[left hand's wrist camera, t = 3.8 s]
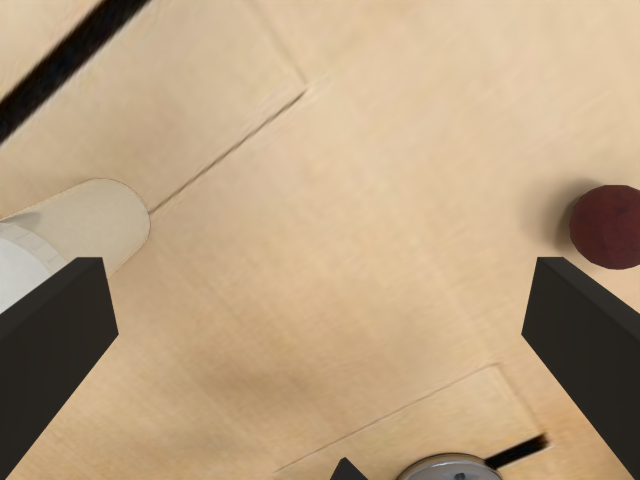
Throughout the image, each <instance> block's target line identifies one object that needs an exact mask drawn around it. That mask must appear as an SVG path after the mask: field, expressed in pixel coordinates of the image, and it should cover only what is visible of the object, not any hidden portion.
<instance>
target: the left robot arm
mask: <svg viewBox="0 0 640 480" xmlns="http://www.w3.org/2000/svg"><path fill="white" fill-rule="evenodd" d="M118 335H119V333H118V329H117V324H116V319H115V314H114V310H113V305H112V300H111V295H110V291H109V286H108V281H107V276H106V272H105V267H104V262H103V257H76V258H75V259H74V260H72V261H71V262H70V263H68V264H67V265H66V266H64V267H63V268H62V269H60V270H59V271H57V272H56V273H55V274H53V275H52V276H51V277H49V278H48V279H47V280H45V281H44V282H43V283H41V284H40V285H39V286H37V287H36V288H35V289H33V290H32V291H30V292H29V293H28V294H26V295H25V296H24V297H22V298H21V299H20V300H18V301H17V302H16V303H14V304H13V305H12V306H10V307H9V308H8V309H6V310H5V311H4V312H2V313H1V314H0V480H5V479H6V478H7V477H8V475H9V474H10V473H11V472H12V470H13V469H14V468H15V466H16V465H17V464H18V463H19V461H20V460H21V459H22V458H23V456H24V455H25V454H26V452H27V451H28V450H29V449H30V447H31V446H32V445H33V443H34V442H35V441H36V440H37V438H38V437H39V436H40V434H41V433H42V432H43V431H44V429H45V428H46V427H47V426H48V424H49V423H50V422H51V420H52V419H53V418H54V417H55V415H56V414H57V413H58V411H59V410H60V409H61V408H62V406H63V405H64V404H65V402H66V401H67V400H68V399H69V397H70V396H71V395H72V394H73V392H74V391H75V390H76V388H77V387H78V386H79V385H80V383H81V382H82V381H83V379H84V378H85V377H86V376H87V374H88V373H89V372H90V371H91V369H92V368H93V367H94V365H95V364H96V363H97V362H98V360H99V359H100V358H101V356H102V355H103V354H104V353H105V351H106V350H107V349H108V347H109V346H110V345H111V344H112V342H113V341H114V340H115V339H116V337H117V336H118ZM521 335H522V336H523V337H524V339H525V340H526V341H527V342H528V344H529V345H530V346H531V347H532V349H533V350H534V351H535V353H536V354H537V355H538V356H539V358H540V359H541V360H542V362H543V363H544V364H545V365H546V367H547V368H548V369H549V371H550V372H551V373H552V374H553V376H554V377H555V378H556V379H557V381H558V382H559V383H560V385H561V386H562V387H563V388H564V390H565V391H566V392H567V394H568V395H569V396H570V397H571V399H572V400H573V401H574V402H575V404H576V405H577V406H578V408H579V409H580V410H581V411H582V413H583V414H584V415H585V417H586V418H587V419H588V420H589V422H590V423H591V424H592V426H593V427H594V428H595V429H596V431H597V432H598V433H599V434H600V436H601V437H602V438H603V440H604V441H605V442H606V443H607V445H608V446H609V447H610V449H611V450H612V451H613V452H614V454H615V455H616V456H617V458H618V459H619V460H620V461H621V463H622V464H623V465H624V466H625V468H626V469H627V470H628V472H629V473H630V474H631V475H632V477H633V478H634V479H635V480H640V314H639V313H638V312H636V311H635V310H634V309H632V308H631V307H630V306H628V305H627V304H626V303H624V302H623V301H622V300H620V299H619V298H618V297H616V296H615V295H614V294H612V293H611V292H610V291H608V290H607V289H605V288H604V287H603V286H601V285H600V284H599V283H597V282H596V281H595V280H593V279H592V278H591V277H589V276H588V275H587V274H585V273H584V272H583V271H581V270H580V269H578V268H577V267H576V266H574V265H573V264H572V263H570V262H569V261H568V260H566V259H565V258H564V257H537V262H536V267H535V272H534V276H533V281H532V286H531V291H530V295H529V300H528V305H527V310H526V314H525V319H524V324H523V329H522V333H521Z"/></svg>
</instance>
